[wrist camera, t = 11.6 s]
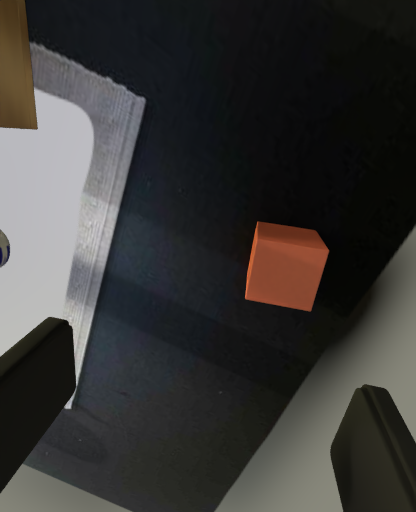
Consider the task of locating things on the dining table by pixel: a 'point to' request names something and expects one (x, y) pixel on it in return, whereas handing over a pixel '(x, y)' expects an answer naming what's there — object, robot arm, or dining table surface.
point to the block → (285, 266)
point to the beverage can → (4, 249)
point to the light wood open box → (15, 68)
